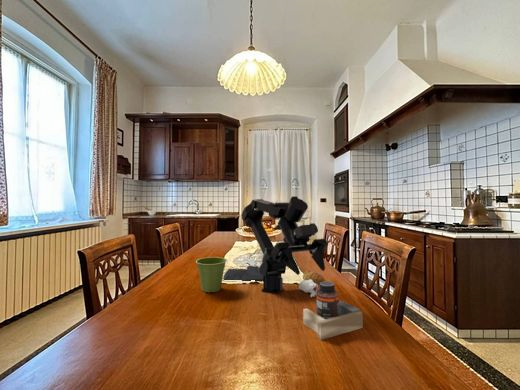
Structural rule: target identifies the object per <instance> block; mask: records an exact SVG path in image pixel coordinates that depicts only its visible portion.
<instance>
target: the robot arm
mask: <svg viewBox="0 0 520 390" xmlns="http://www.w3.org/2000/svg"><path fill="white" fill-rule="evenodd" d="M308 208H309V205H308V203H307V202H305V201H304V200H303V199H301V198H299V197H298V195H297V196H294V195H292V196H291V198H290V199H289V202H285V201H284V202H272V201H268V200H264V199H263V198H262V199H259V198H258V199H257V198H256V199H252V200H251V202H250V203H249V204H247V206H245V207H244V209H243V210H242V212H241V220H242V221H243V223H244V224H245V225H246V227H248V228H250V229H251V231H252V232H253V235H254V237H255V239H256V241H257V243H258V245H259V248H260V250H261V252H262V259H261V264H260V266H258V267H259V271H260V274H262V275H263V282H262V283H263V285H262V286H263V288H262V289H261V292H266V293H269V294H270V293H272V294H279V293H280V292H281V291H283V290H284V287H283V286H284V281H283V276H282V275H285V274H286V271H287V268H288V269H290V270H291V271H292V272H293V273H295V274H296V275H297V276H298V275H300V274H301V271H300V268H299V266H298V265H297V262H296V260H295V258H294V256H293V253H300V252H309V254H310V255H312V256H311V258H312V259H313V261H314V262H315V264H316V266H318V268H320V270H321V271H322V272H324V271H326V266H325V264H326V263H325V260H324V259H325V258H324V251H326V250H325V249H326V248H327V247H328V246H329V243H328V242H327V240H326V239H325V238H317V239H316V238H315V239H313V241H312V242H311V243H310V244H309V242H310V241H311V238H310V237H313V236H315V235H316V234H318V233H319V228H318V226H317V224H316V223H309V224H302V225H299V226H298V222H300V221H302V218H303V217H304V215H305V213H306V211H307V210H308ZM265 213H268V216H269V218H272V219H273V220H274V219H275V220H277V219H279V220H278V221H277V225H276V230H279V231H281V233H282V235H283V239H282V240H283V241H281V242H278V241H277V242H276V243H275V245H274V244H273V242H272V240H271V238H270V237H269V235H268V233H267V231H266V228H265V227H264V225H263V223H262V221H263V216H264V215H265Z"/></svg>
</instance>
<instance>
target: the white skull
mask: <svg viewBox="0 0 520 390" xmlns="http://www.w3.org/2000/svg"><path fill="white" fill-rule="evenodd" d="M318 285H319V284H315V283H314V282H313V281H312V280H311V279H310V280H304V279H303V280H300V283H299V285H298V290H301V291H302V292H304V293H310V298H312V297H313V298H315V297H317V291H318V290H319V289H318V288H319V286H318Z"/></svg>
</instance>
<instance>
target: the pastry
mask: <svg viewBox="0 0 520 390" xmlns="http://www.w3.org/2000/svg"><path fill="white" fill-rule="evenodd" d="M302 279H303V280H310V279H311V280H312V281H313V282H314V283H315V284H317V285H320V283H321V282H326V279H325V277H324V276H323V275H321V274H319V273H318V272H316V271H310V270H306V271H305V272H304V273H303V275H302Z"/></svg>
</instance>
